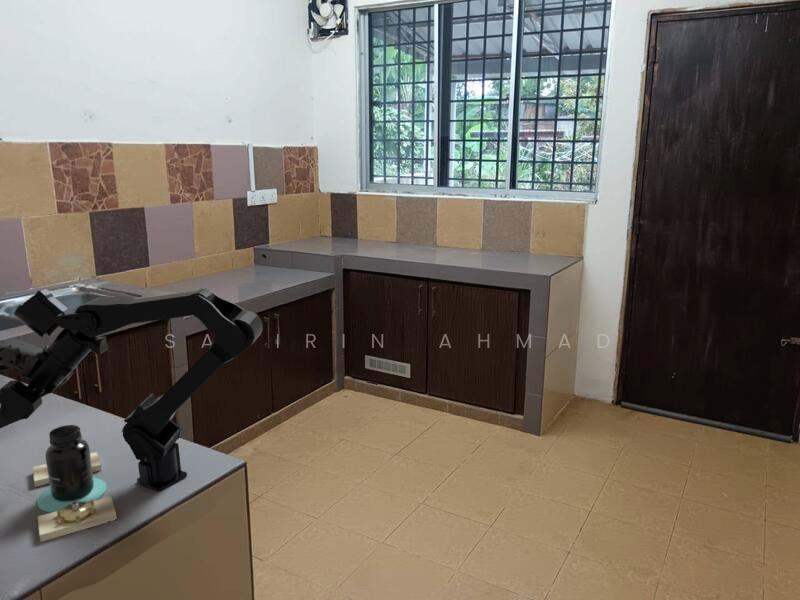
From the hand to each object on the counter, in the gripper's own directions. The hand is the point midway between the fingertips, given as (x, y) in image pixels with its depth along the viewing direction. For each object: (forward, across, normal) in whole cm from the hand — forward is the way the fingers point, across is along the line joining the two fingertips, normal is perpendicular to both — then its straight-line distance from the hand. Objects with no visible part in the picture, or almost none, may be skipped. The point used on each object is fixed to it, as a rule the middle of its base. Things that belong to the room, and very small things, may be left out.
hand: (6, 416), depth 109 cm
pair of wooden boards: (+2, +5, +17) cm, 18 cm away
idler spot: (+2, +5, +17) cm, 18 cm away
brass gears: (+1, +5, +17) cm, 17 cm away
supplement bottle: (+2, +5, +17) cm, 18 cm away
